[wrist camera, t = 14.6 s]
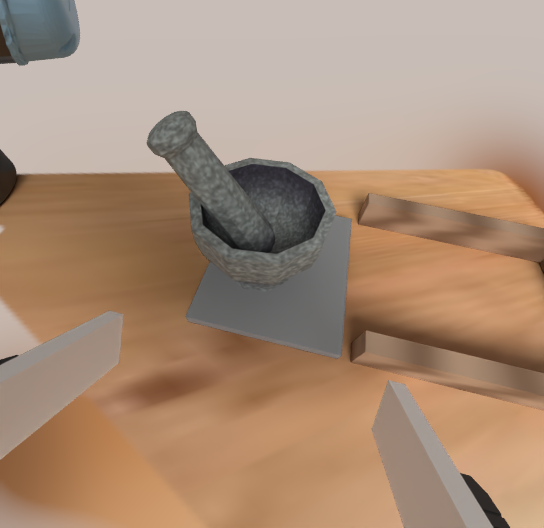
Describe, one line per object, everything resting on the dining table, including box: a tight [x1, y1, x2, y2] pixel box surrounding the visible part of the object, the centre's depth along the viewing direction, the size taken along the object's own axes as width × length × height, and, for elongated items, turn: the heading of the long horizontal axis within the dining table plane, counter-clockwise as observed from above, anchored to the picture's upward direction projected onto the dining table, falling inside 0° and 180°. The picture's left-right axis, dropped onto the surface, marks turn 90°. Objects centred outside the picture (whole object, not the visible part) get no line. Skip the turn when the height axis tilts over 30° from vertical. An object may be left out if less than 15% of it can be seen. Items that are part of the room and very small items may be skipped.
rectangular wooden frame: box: [351, 193, 544, 410], centre depth 22 cm, size 20×16×3 cm
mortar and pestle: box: [147, 111, 336, 292], centre depth 18 cm, size 11×9×12 cm
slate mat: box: [186, 216, 352, 359], centre depth 23 cm, size 12×14×1 cm
